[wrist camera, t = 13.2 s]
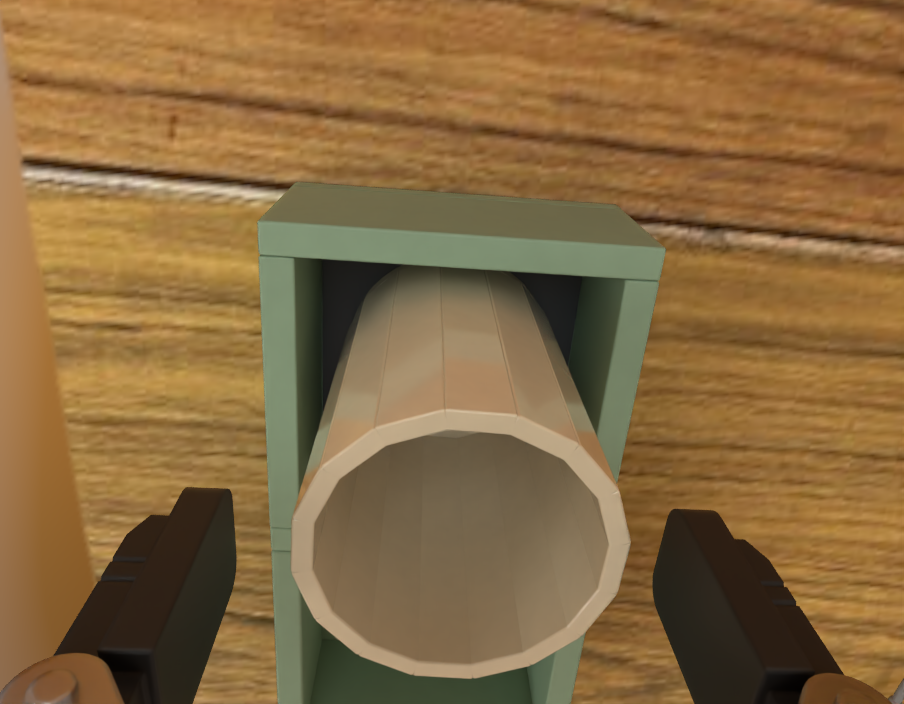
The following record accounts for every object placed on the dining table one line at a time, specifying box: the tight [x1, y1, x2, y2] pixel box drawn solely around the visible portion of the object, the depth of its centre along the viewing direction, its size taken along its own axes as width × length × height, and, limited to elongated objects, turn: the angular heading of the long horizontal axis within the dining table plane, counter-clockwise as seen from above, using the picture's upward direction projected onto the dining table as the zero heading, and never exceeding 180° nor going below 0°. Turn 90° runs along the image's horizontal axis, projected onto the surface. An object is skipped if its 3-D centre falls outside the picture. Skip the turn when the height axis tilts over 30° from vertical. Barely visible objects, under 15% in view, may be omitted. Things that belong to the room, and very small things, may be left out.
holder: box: [257, 182, 666, 704], centre depth 21 cm, size 17×9×5 cm, turn 176°
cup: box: [291, 264, 631, 679], centre depth 16 cm, size 6×6×9 cm
